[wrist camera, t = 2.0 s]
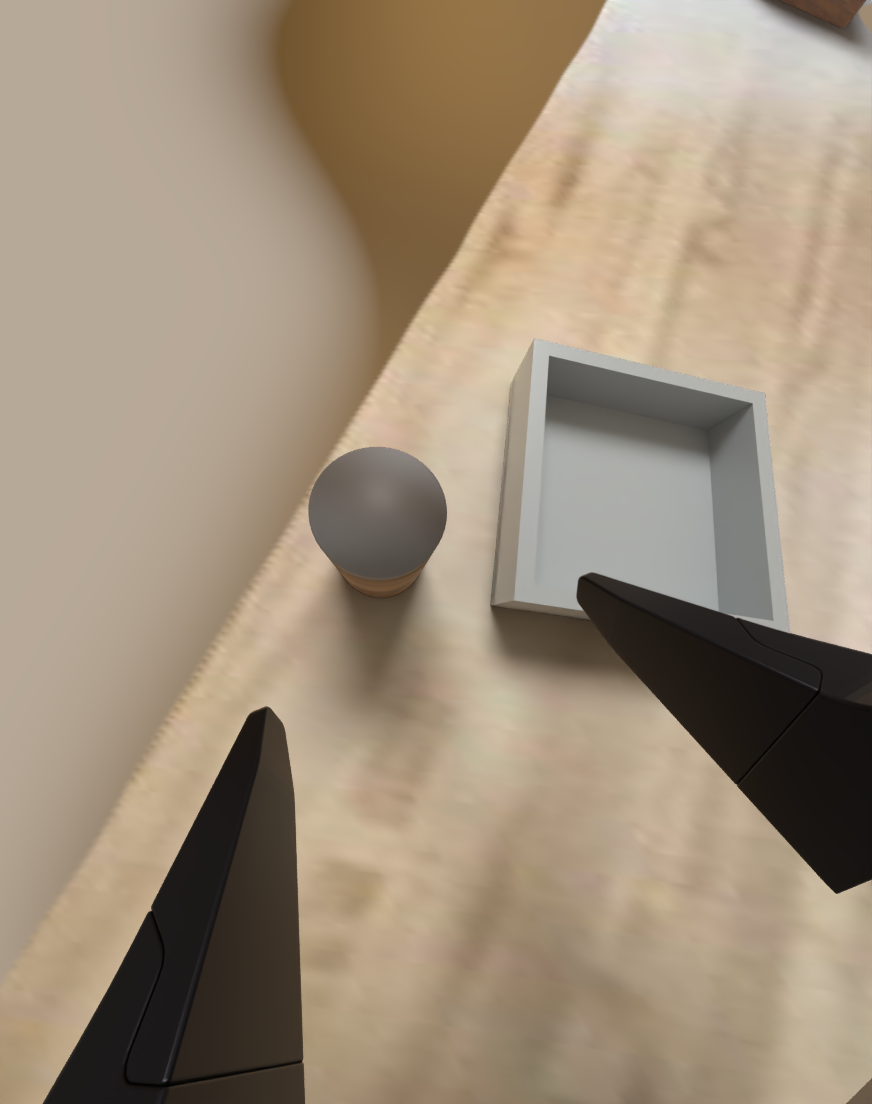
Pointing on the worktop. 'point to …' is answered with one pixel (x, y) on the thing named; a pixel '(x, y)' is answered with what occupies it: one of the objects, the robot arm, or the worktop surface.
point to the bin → (636, 488)
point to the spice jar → (378, 518)
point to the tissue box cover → (829, 9)
